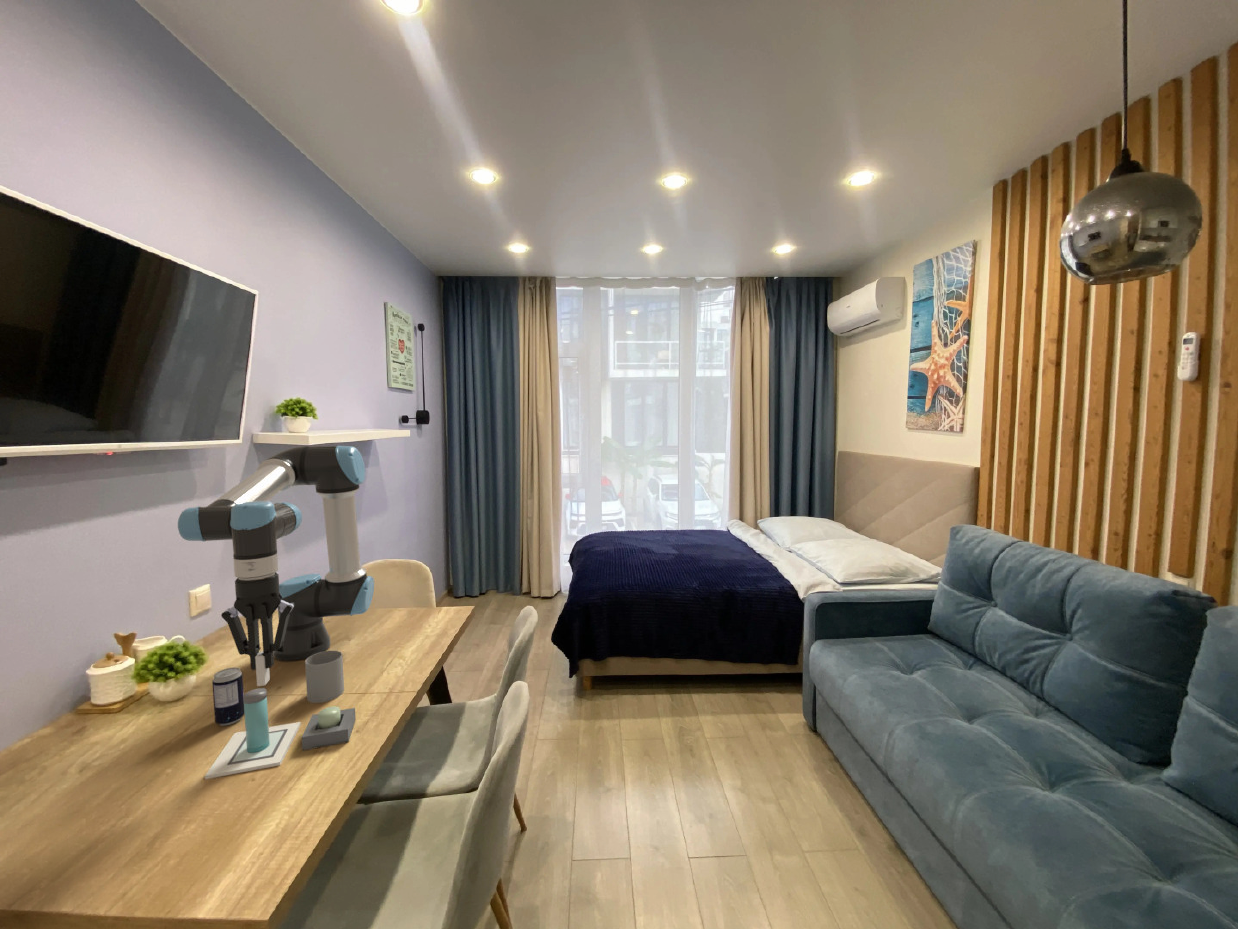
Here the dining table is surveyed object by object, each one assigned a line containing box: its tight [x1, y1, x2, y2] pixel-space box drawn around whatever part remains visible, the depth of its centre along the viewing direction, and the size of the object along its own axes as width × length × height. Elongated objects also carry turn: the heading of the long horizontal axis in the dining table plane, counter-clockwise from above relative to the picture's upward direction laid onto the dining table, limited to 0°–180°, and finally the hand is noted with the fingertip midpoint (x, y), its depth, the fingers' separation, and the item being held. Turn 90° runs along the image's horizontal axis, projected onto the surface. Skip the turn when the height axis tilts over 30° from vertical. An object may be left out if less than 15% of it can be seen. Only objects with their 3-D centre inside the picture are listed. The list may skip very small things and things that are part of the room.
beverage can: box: [212, 666, 245, 727], centre depth 120 cm, size 6×6×12 cm
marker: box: [243, 687, 270, 753], centre depth 109 cm, size 4×4×12 cm
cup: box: [304, 650, 345, 704], centre depth 132 cm, size 8×8×10 cm
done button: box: [317, 706, 341, 729], centre depth 115 cm, size 4×4×3 cm
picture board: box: [204, 721, 302, 780], centre depth 110 cm, size 15×13×1 cm
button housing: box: [301, 707, 356, 751], centre depth 115 cm, size 9×9×3 cm
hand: (263, 682), depth 108 cm, fingers closed
